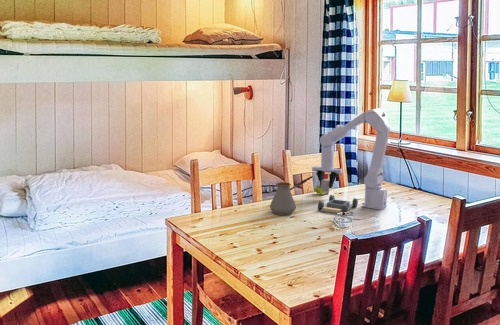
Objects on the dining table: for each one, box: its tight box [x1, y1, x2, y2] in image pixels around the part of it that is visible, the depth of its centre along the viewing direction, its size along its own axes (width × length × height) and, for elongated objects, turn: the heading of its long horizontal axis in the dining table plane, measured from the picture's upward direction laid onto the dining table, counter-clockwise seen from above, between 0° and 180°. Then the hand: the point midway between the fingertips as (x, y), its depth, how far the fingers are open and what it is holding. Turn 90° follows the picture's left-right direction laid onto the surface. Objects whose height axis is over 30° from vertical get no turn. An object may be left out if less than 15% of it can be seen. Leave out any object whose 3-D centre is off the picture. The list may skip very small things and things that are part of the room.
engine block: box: [321, 178, 333, 193], centre depth 242 cm, size 4×4×5 cm
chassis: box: [317, 194, 359, 215], centre depth 226 cm, size 18×12×4 cm
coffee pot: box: [269, 175, 316, 216], centre depth 220 cm, size 21×12×15 cm, turn 117°
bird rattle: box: [313, 173, 330, 196], centre depth 252 cm, size 6×11×9 cm
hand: (326, 187), depth 242 cm, fingers closed on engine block, 4 cm apart
